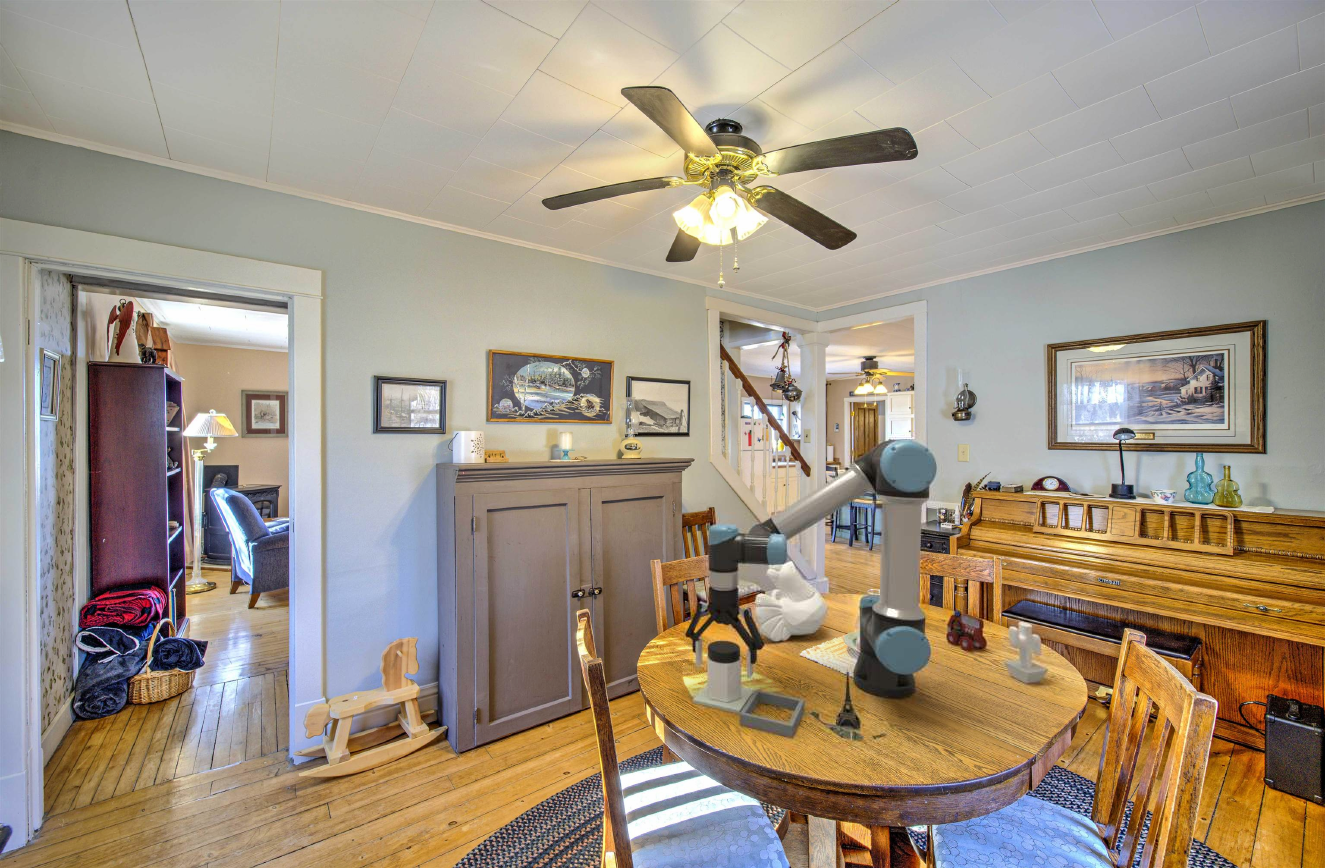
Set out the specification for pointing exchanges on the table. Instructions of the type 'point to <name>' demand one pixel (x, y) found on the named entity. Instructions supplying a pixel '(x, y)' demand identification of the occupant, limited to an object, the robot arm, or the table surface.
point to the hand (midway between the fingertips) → (724, 670)
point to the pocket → (770, 724)
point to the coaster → (731, 706)
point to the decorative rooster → (789, 605)
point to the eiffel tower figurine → (846, 719)
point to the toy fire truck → (966, 631)
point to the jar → (724, 671)
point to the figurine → (1025, 654)
